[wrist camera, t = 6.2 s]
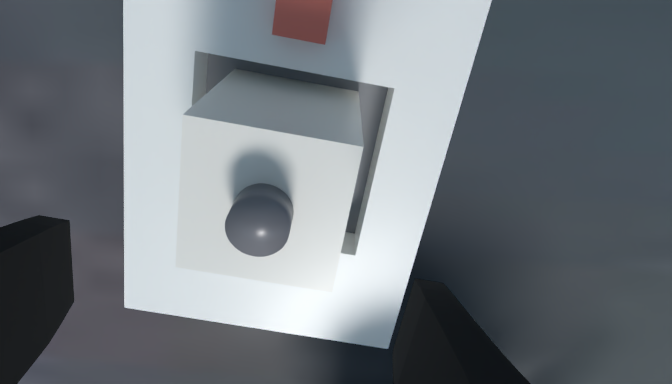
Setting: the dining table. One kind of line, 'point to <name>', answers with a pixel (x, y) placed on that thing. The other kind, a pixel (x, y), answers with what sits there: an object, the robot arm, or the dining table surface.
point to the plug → (268, 179)
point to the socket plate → (314, 67)
